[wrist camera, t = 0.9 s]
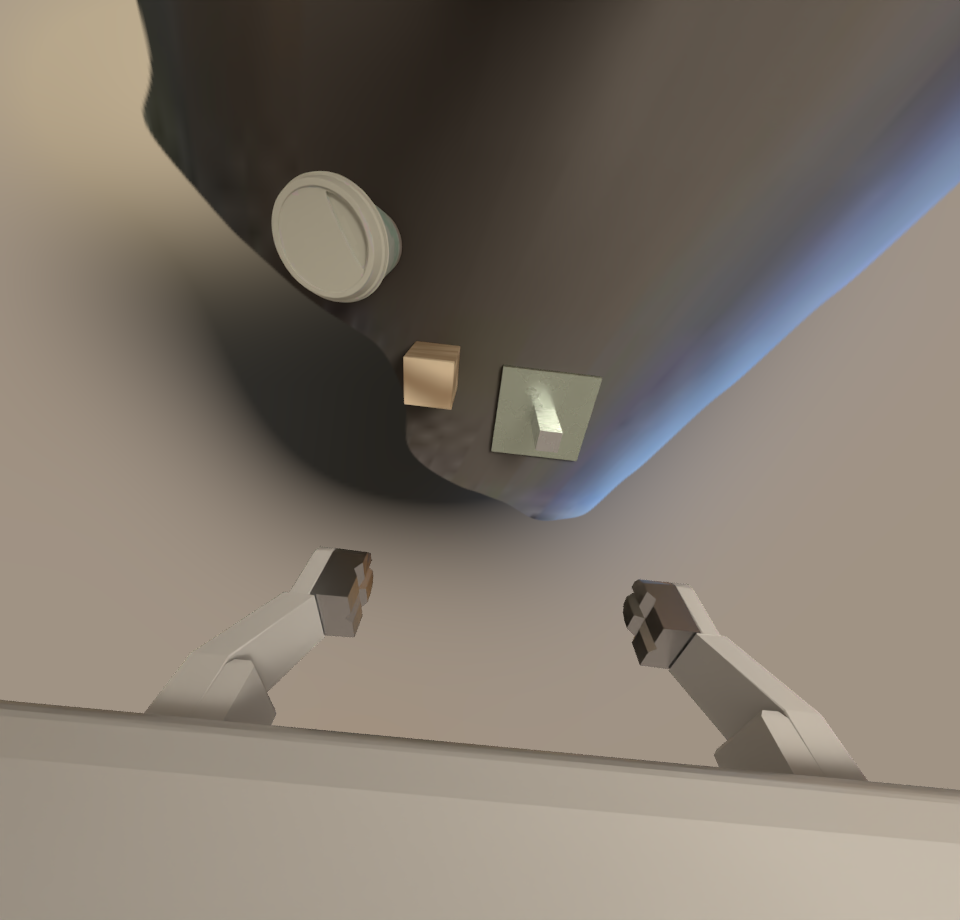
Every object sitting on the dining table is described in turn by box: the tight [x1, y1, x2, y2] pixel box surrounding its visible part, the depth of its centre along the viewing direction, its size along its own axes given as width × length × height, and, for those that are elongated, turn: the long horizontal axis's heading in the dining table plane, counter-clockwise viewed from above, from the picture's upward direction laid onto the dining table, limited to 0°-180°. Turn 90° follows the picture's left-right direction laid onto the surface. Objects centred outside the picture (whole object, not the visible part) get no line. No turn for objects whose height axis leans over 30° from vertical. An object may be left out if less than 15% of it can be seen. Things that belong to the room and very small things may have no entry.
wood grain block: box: [403, 341, 460, 409], centre depth 39 cm, size 5×5×7 cm
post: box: [491, 365, 602, 461], centre depth 41 cm, size 12×12×7 cm
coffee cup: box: [272, 171, 402, 302], centre depth 30 cm, size 8×8×12 cm
